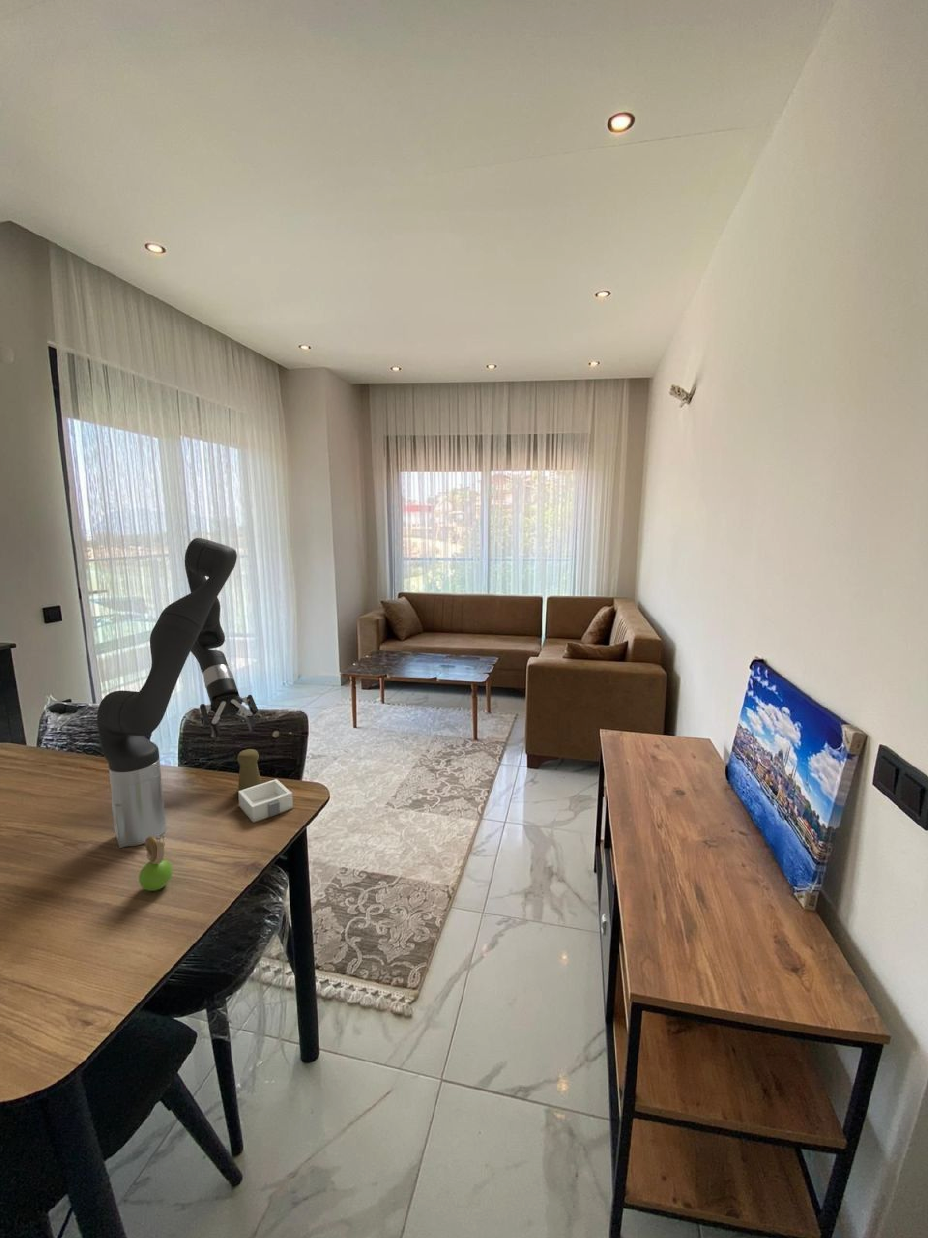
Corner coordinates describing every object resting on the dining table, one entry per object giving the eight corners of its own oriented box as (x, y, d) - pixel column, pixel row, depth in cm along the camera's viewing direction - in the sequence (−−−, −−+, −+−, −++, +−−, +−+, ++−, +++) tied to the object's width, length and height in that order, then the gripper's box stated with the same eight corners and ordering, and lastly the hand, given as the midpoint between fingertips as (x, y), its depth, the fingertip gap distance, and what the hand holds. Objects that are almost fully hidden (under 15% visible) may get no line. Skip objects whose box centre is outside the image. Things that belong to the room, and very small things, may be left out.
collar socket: (254, 824, 114) (253, 809, 113) (239, 806, 122) (238, 791, 121) (294, 809, 120) (293, 794, 120) (277, 793, 128) (276, 778, 127)
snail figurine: (152, 904, 89) (145, 844, 87) (134, 890, 92) (128, 832, 90) (182, 886, 94) (176, 829, 92) (164, 874, 97) (159, 818, 95)
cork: (253, 797, 126) (250, 757, 124) (232, 794, 127) (229, 755, 125) (267, 786, 132) (265, 747, 130) (247, 783, 133) (244, 745, 131)
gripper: (194, 681, 132) (210, 734, 126) (248, 672, 142) (265, 721, 136) (190, 695, 137) (205, 747, 131) (243, 686, 147) (259, 733, 140)
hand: (236, 733), depth 133 cm, fingers open, 8 cm apart
